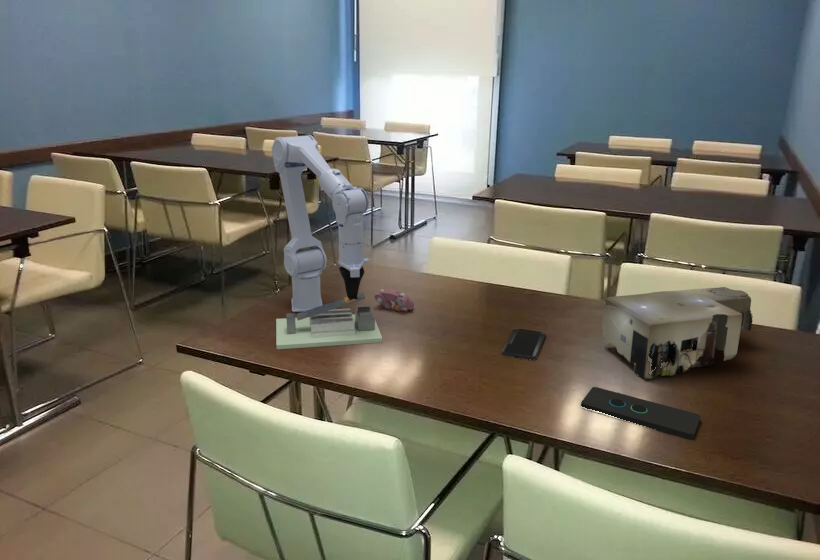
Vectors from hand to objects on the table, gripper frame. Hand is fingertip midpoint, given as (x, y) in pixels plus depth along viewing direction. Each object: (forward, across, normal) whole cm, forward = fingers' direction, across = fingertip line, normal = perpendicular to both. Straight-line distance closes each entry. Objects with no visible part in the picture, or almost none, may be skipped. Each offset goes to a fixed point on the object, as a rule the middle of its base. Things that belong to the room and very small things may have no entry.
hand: (352, 297), depth 152 cm
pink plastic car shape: (+9, +13, -12) cm, 20 cm away
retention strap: (+2, 0, +5) cm, 6 cm away
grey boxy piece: (+9, -25, -69) cm, 74 cm away
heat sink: (+8, 0, +5) cm, 9 cm away
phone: (+9, -15, -38) cm, 42 cm away
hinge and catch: (+8, 0, +5) cm, 9 cm away
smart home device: (+9, -48, -48) cm, 69 cm away
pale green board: (+9, 0, +6) cm, 10 cm away
